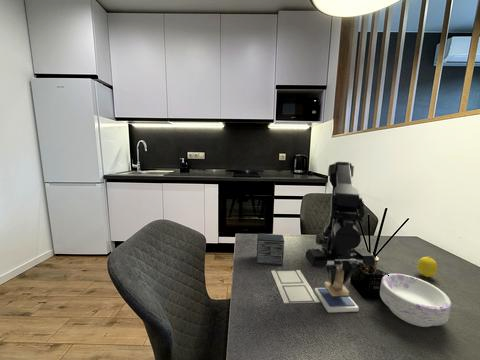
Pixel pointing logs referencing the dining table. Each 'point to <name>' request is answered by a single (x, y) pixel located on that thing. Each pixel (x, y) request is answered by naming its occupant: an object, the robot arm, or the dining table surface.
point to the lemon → (427, 266)
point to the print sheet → (294, 287)
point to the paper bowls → (415, 300)
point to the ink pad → (335, 302)
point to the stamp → (337, 285)
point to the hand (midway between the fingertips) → (336, 283)
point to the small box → (270, 249)
